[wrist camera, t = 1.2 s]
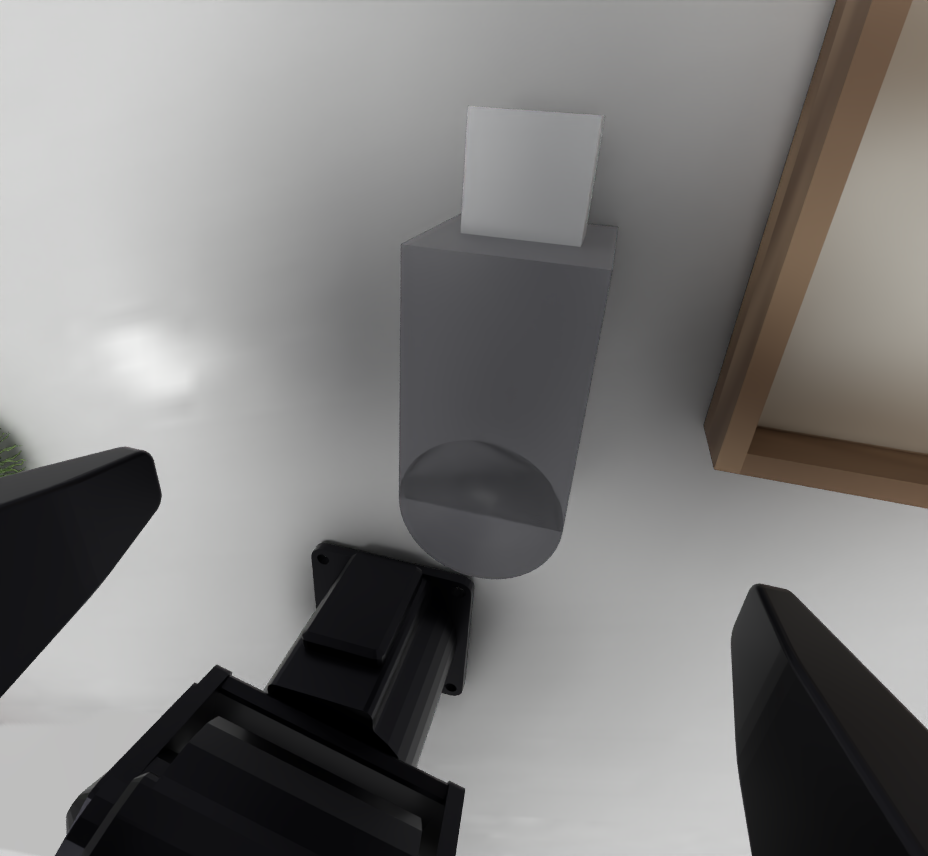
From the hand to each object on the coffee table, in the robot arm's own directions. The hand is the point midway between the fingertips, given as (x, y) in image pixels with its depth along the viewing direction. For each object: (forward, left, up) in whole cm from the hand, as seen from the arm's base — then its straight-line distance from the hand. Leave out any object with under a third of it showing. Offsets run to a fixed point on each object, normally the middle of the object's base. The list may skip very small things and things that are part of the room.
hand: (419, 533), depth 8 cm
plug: (0, 0, -9) cm, 9 cm away
